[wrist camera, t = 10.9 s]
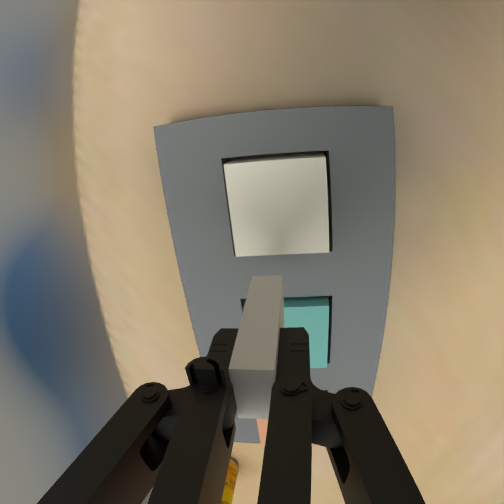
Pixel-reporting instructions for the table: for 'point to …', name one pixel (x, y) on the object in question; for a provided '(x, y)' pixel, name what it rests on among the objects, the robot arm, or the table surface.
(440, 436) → the table surface
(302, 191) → the cream button
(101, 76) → the table surface
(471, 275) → the table surface
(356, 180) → the panel
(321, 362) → the teal button
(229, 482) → the beer can
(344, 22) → the table surface
